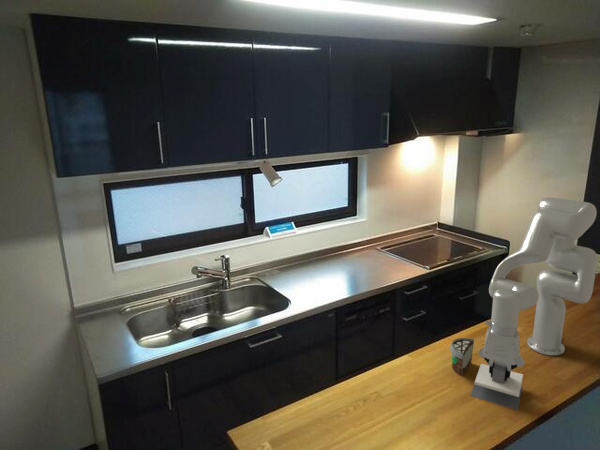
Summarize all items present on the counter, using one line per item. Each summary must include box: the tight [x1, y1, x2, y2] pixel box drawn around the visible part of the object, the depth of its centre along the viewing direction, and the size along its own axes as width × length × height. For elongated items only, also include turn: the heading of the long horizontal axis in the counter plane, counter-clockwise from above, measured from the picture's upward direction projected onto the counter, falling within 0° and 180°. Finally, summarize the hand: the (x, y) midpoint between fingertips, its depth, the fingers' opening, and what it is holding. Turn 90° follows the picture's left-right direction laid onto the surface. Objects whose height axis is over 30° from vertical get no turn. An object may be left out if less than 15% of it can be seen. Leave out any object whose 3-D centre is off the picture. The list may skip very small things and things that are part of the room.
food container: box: [449, 337, 475, 377], centre depth 152 cm, size 12×6×10 cm, turn 141°
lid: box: [474, 361, 524, 397], centre depth 138 cm, size 11×13×6 cm
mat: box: [470, 383, 523, 411], centre depth 140 cm, size 13×14×1 cm
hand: (499, 376), depth 139 cm, fingers closed on lid, 3 cm apart
